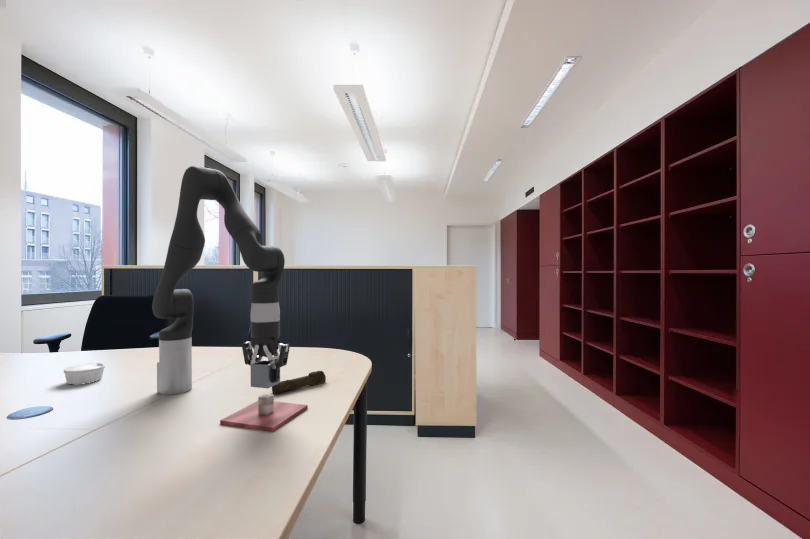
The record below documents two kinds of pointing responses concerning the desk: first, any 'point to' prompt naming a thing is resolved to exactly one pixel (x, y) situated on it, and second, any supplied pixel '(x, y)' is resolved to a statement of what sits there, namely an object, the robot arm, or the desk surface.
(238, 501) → the desk surface
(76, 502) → the desk surface
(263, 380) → the square socket
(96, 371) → the ramekin
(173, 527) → the desk surface
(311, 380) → the hand tool
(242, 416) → the post base
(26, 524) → the desk surface
